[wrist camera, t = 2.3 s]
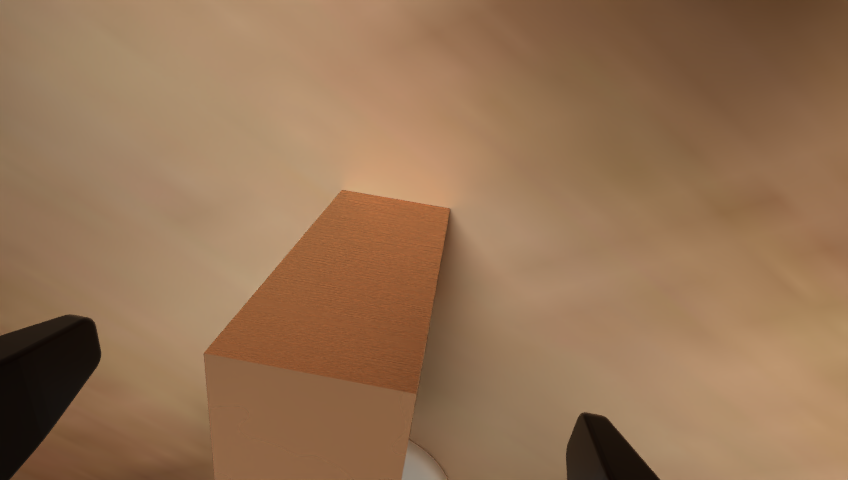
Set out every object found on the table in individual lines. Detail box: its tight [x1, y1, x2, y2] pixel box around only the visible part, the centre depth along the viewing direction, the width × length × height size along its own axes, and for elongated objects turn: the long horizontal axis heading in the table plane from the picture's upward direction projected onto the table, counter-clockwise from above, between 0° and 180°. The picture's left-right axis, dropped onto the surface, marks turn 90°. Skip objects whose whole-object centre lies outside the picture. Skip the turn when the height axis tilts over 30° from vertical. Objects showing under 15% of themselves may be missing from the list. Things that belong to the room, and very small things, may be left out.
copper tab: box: [204, 190, 450, 480], centre depth 10 cm, size 3×3×7 cm
